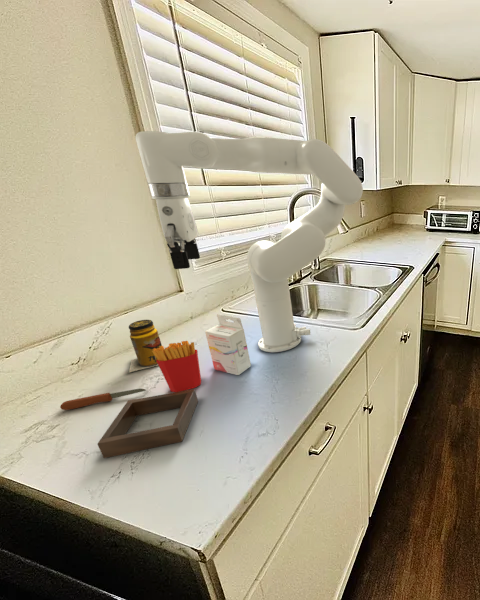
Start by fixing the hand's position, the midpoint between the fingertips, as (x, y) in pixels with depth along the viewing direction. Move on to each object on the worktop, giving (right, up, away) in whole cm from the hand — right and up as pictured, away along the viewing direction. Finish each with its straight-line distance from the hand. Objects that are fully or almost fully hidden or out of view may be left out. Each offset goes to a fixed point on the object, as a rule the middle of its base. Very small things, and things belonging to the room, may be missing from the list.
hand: (188, 263), depth 81 cm
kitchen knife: (-15, -33, -6) cm, 37 cm away
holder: (+2, -36, -14) cm, 38 cm away
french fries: (0, -31, -1) cm, 31 cm away
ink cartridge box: (+8, -28, +7) cm, 30 cm away
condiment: (-17, -27, +10) cm, 34 cm away
